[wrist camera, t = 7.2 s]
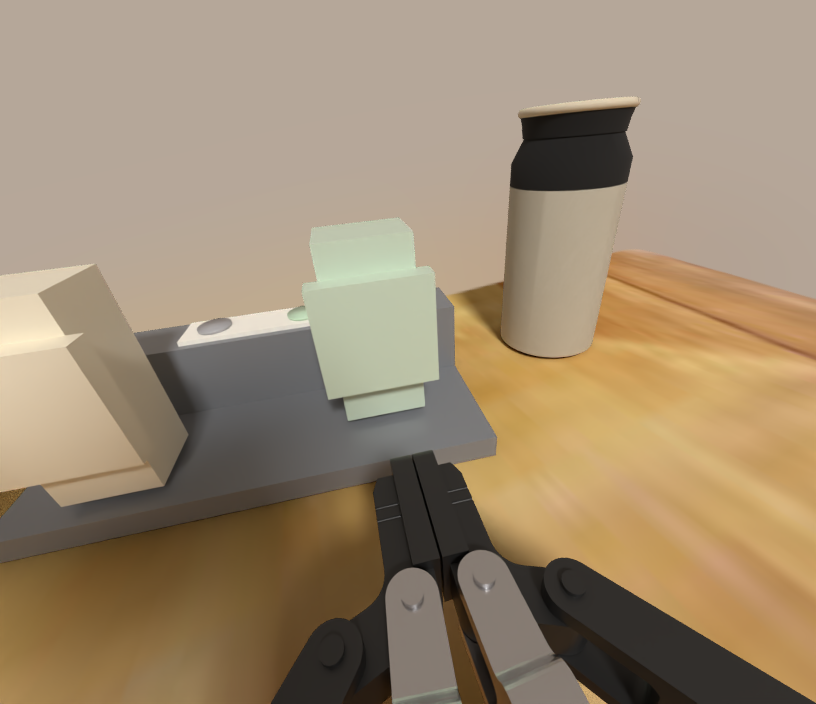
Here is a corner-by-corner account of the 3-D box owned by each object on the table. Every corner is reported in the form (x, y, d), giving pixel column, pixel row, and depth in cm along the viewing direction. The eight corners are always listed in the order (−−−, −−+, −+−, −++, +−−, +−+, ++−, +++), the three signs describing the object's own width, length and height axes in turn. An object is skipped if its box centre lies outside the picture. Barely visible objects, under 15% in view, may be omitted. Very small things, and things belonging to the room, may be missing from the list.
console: (-5, 564, 18) (-121, 470, 14) (114, 413, 28) (63, 336, 25) (495, 454, 22) (502, 357, 18) (441, 356, 32) (438, 281, 28)
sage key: (337, 436, 21) (292, 253, 15) (335, 386, 26) (299, 229, 20) (440, 416, 22) (433, 234, 16) (421, 371, 26) (410, 215, 21)
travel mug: (510, 363, 30) (532, 105, 21) (493, 321, 37) (504, 113, 27) (607, 358, 29) (675, 91, 20) (572, 317, 36) (610, 103, 27)
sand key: (29, 531, 17) (-183, 332, 12) (89, 453, 22) (-43, 280, 16) (169, 502, 18) (35, 302, 12) (200, 432, 22) (112, 261, 17)
